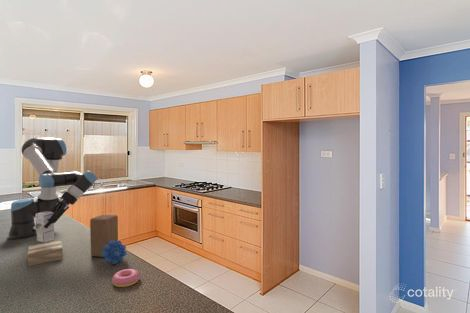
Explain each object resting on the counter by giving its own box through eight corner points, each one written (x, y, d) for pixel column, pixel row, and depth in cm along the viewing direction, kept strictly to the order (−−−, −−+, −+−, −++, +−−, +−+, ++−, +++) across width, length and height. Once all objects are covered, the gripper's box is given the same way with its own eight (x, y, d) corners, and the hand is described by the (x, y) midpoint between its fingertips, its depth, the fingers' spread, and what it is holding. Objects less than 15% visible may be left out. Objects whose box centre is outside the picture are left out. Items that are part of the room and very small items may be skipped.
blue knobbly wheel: (105, 270, 123) (105, 245, 123) (100, 266, 128) (99, 241, 128) (130, 263, 132) (129, 239, 131) (124, 259, 136) (124, 235, 136)
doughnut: (111, 291, 106) (111, 281, 106) (112, 278, 116) (112, 269, 116) (140, 285, 110) (140, 275, 110) (139, 274, 121) (138, 265, 120)
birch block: (29, 257, 140) (28, 245, 140) (61, 251, 148) (60, 240, 148) (28, 266, 129) (27, 254, 128) (62, 259, 137) (62, 248, 137)
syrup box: (55, 239, 140) (54, 211, 139) (43, 242, 134) (42, 214, 134) (47, 238, 142) (46, 210, 141) (35, 241, 136) (34, 213, 136)
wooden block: (106, 258, 138) (106, 219, 137) (90, 256, 140) (89, 218, 139) (119, 250, 147) (118, 214, 147) (103, 249, 149) (102, 214, 149)
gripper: (84, 201, 142) (48, 239, 130) (72, 197, 155) (38, 231, 144) (72, 193, 138) (34, 231, 126) (61, 189, 151) (26, 223, 140)
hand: (37, 231), depth 135 cm, fingers closed on syrup box, 7 cm apart
